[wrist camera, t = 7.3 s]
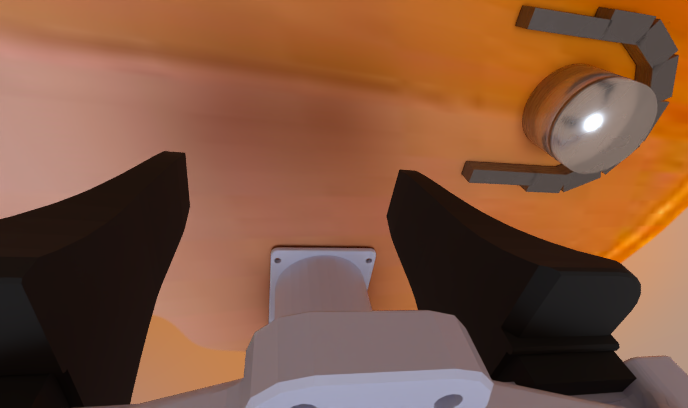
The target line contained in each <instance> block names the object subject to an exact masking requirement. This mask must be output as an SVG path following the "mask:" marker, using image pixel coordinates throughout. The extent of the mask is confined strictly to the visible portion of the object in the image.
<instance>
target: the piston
mask: <svg viewBox="0 0 688 408" xmlns="http://www.w3.org/2000/svg"><path fill="white" fill-rule="evenodd" d="M657 106H658V105H657V98H656V95H655V93H654V92H653V90H652V89H651V88H650V87H648V86H647V85H645V84H642V83H640V82H637V81H634V80H631V79H629V78H626V77H622V76H619V75H617V74H614V73H611V72H608V71H605V70H602V69H599V68H596V67H593V66H590V65H587V64H572V65H568V66H565V67H563V68H560V69H558V70H556V71H555V72H553V73H552V74H550V75H549V76H548V77H546V78H545V79H544V80H543V81H542V82H541V83H540V84H539V85H538V86H537V87H536V88H535V90H534V91H533V92H532V94H531V96H530V97H529V99H528V101H527V103H526V106H525V108H524V112H523V118H522V125H523V130H524V133H525V135H526V136H527V138H528V139H529V140H530V141H532V142H533V143H534V144H536V145H537V146H538V147H540V148H541V149H543V150H544V151H545V152H547V153H548V154H549V155H551V156H552V157H554V158H555V159H556V160H557V161H559V162H560V163H561V164H563V165H564V166H566V167H567V168H569V169H570V170H572V171H574V172H577V173H581V174H591V173H596V172H600V171H603V170H606V169H608V168H610V167H612V166H614V165H616V164H618V163H619V162H621V161H622V160H624V159H625V158H626V157H628V156H629V155H630V154H631V153H632V152H633V151H635V150H636V148H637V147H638V146H639V145H640V144H641V143H642V142H643V140H644V139H645V138H646V136H647V135H648V133H649V131H650V130H651V128H652V126H653V124H654V121H655V118H656V114H657Z"/></svg>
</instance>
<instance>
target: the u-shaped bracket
mask: <svg viewBox="0 0 688 408" xmlns="http://www.w3.org/2000/svg"><path fill="white" fill-rule="evenodd" d="M515 26H519V27H522V28H526V29H531V30H538V31H545V32H551V33H558V34H565V35H572V36H578V37H585V38H592V39H599V40H605V41H612V42H619V43H622V44H623V45H624V47H625V48H626V50H627V51H628V53H629V54H630V56H631V57H632V59H633V60H634V62H635V63H636V75H635V81H637V82H640V83H642V84H645V85H647V86H648V87H650V88H651V89H652V90H653V92H654V93H655V95H656V98H657V105H658V106H657V114H656V118H655V121H654V124H653V126H652V128H653V127H654V125H655V124H656V122H657V121H658V119H659V118H660V116H661V114H662V113H663V111H664V110H665V108H666V107H667V105H668V104H669V102H667V101H665V99H667V98H670V97H672V92H673V86H674V80H675V74H676V69H677V63H678V57H679V55H675V54H674V53H676V52H677V51H678V49H677V47H676V46H675V44H674V42H673V40H672V39H671V37H670V35H669V33H668V32H667V30H666V28H665V26H664V25H663V23H662V21H661V20H660V19H656V16H651V15H645V14H639V13H633V12H627V11H621V10H615V9H608V8H602V7H599V8H598V11H597V13H596V15H595V17H591V16H585V15H579V14H573V13H567V12H560V11H554V10H548V9H542V8H536V7H530V6H522V9H521V11H520V14H519V17H518V20H517V23H516V25H515ZM652 128H651V130H652ZM651 130H650V131H651ZM650 131H649V133H650ZM649 133H648V135H649ZM648 135H647V136H648ZM647 136H646V138H647ZM646 138H645V139H646ZM645 139H644V140H643V141H645ZM639 146H640V145H639ZM639 146H638V147H639ZM638 147H637V148H638ZM637 148H636V149H637ZM619 163H620V162H619ZM619 163H618V164H619ZM616 165H617V164H616ZM616 165H614V166H612V167H610V168H608V169H606V170H603V171H600V172H596V173H591V174H581V173H577V172H574V171H572V170H570V169H569V168H567V167H566V166H564V165H563V164H561V165H558V166H556V167H552V166H536V165H520V164H503V163H487V162H471V161H466V163H465V166H464V169H463V171H462V175H463V176H464V177H465V178H466V180H467V181H468V182H469V183H489V184H509V185H520V186H521V187H522V188H523V189H524V190H525V191H526V192H548V193H559V192H560V190H562V191H563V192H565V191H568V190H570V189H573V188H575V187H578V186H580V185H583V184H585V183H588V182H590V181H593V180H595V179H598V178H600V177H601V172H602V173H604V174H607V173H608V172H609V171H610V170H611V169H613V168H614V167H615V166H616Z"/></svg>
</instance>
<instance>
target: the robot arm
mask: <svg viewBox="0 0 688 408" xmlns="http://www.w3.org/2000/svg"><path fill="white" fill-rule="evenodd" d="M189 208H190V202H189V190H188V179H187V168H186V156H185V153H181V152H168V151H164V152H161V153H159V154H157V155H155V156H153V157H152V158H150V159H148V160H146V161H144V162H143V163H141V164H139V165H137V166H135V167H134V168H132V169H130V170H128V171H126V172H125V173H123V174H121V175H119V176H117V177H115V178H113V179H111V180H109V181H107V182H105V183H102V184H100V185H98V186H96V187H94V188H92V189H90V190H88V191H85V192H83V193H80V194H78V195H75V196H73V197H70V198H68V199H65V200H62V201H60V202H57V203H54V204H51V205H48V206H44V207H41V208H38V209H35V210H31V211H28V212H25V213H21V214H18V215H15V216H11V217H7V218H3V219H0V408H688V375H687V374H686V373H685V372H684V371H683V370H682V369H681V368H680V367H679V366H678V365H677V364H676V363H675V362H674V361H673V360H672V359H671V358H670V357H668V356H648V357H635V358H630V359H628V360H626V361H624V362H622V360H621V359H620V358H619V357H618V356H617V354H616V353H615V352H614V351H616V350H617V349H619V344H618V342H617V341H616V340H615V339H614V338H613V336H612V335H611V333H612V332H613V331H614V330H615V329H616V327H617V326H618V325H619V324H620V323H621V322H622V321H623V320H624V318H625V317H626V316H627V315H628V314H629V313H630V312H631V311H632V309H633V308H634V307H635V305H636V304H637V302H638V299H639V297H640V294H641V284H640V282H639V281H638V279H637V278H636V277H635V276H634V275H633V274H632V273H631V272H630V271H629V270H627V269H626V268H625V267H624V266H623V265H622V264H620V263H619V262H617V261H614V260H610V259H607V258H603V257H599V256H595V255H591V254H587V253H584V252H580V251H576V250H573V249H570V248H567V247H563V246H560V245H557V244H554V243H551V242H548V241H546V240H543V239H540V238H537V237H535V236H532V235H530V234H527V233H525V232H522V231H520V230H517V229H515V228H513V227H511V226H509V225H506V224H504V223H502V222H500V221H498V220H496V219H494V218H492V217H490V216H488V215H487V214H485V213H483V212H481V211H479V210H478V209H476V208H474V207H473V206H471V205H469V204H468V203H466V202H464V201H463V200H461V199H460V198H458V197H456V196H455V195H453V194H452V193H450V192H449V191H447V190H446V189H444V188H443V187H441V186H440V185H438V184H437V183H435V182H434V181H432V180H431V179H429V178H428V177H426V176H424V175H423V174H421V173H419V172H417V171H412V170H399V173H398V177H397V180H396V184H395V187H394V191H393V195H392V198H391V202H390V205H389V209H388V213H387V220H388V225H389V230H390V234H391V238H392V241H393V243H394V246H395V248H396V251H397V253H398V256H399V258H400V261H401V263H402V266H403V268H404V271H405V273H406V276H407V278H408V281H409V283H410V286H411V288H412V291H413V294H414V297H415V300H416V304H417V308H418V310H391V311H372V308H371V304H370V300H369V296H368V292H367V290H368V286H369V282H370V278H371V274H372V270H373V266H374V262H375V258H376V252H375V250H374V249H372V248H288V247H278V248H274V249H273V250H272V251H271V269H270V299H269V324H268V325H266V326H264V327H263V328H261V329H260V330H258V331H256V332H255V333H254V335H253V337H252V339H251V341H250V344H249V346H248V348H247V350H246V358H245V369H244V378H242V379H238V380H234V381H230V382H226V383H222V384H218V385H213V386H209V387H205V388H202V389H197V390H193V391H189V392H185V393H181V394H177V395H173V396H169V397H165V398H160V399H156V400H152V401H149V402H144V403H140V404H130V402H131V397H132V393H133V388H134V384H135V380H136V376H137V372H138V367H139V363H140V358H141V355H142V351H143V347H144V343H145V339H146V335H147V332H148V328H149V324H150V321H151V317H152V314H153V310H154V306H155V303H156V299H157V296H158V294H159V291H160V288H161V285H162V283H163V280H164V278H165V276H166V273H167V271H168V268H169V266H170V264H171V261H172V259H173V257H174V254H175V252H176V249H177V247H178V245H179V242H180V240H181V237H182V235H183V232H184V229H185V225H186V221H187V217H188V212H189ZM276 258H280V259H279V260H276ZM369 258H370V259H369ZM366 259H369V260H366Z"/></svg>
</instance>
